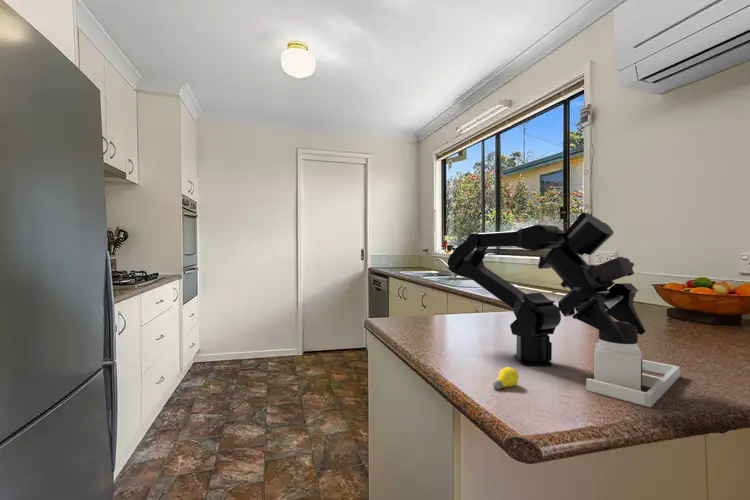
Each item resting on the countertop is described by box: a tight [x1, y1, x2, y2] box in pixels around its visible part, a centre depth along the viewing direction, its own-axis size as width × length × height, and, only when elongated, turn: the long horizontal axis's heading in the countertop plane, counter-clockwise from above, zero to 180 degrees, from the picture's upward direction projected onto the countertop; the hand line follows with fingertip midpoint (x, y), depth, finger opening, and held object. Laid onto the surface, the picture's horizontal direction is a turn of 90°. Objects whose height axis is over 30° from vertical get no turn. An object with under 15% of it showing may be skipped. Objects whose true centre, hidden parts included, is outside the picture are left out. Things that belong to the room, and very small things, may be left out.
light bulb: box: [492, 366, 520, 391], centre depth 69 cm, size 3×6×4 cm, turn 124°
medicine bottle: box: [593, 320, 643, 392], centre depth 69 cm, size 7×7×12 cm
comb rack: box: [585, 359, 681, 408], centre depth 71 cm, size 22×10×2 cm, turn 131°
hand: (632, 335), depth 67 cm, fingers open, 8 cm apart
